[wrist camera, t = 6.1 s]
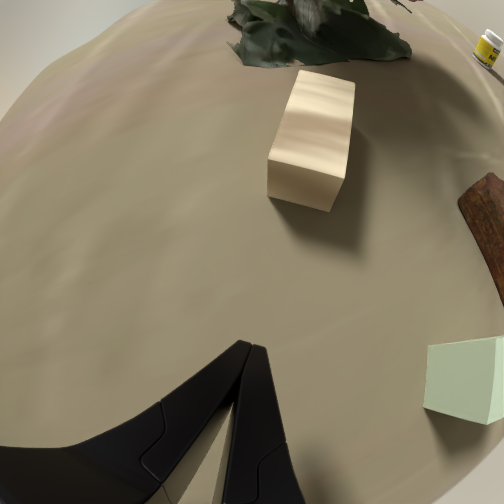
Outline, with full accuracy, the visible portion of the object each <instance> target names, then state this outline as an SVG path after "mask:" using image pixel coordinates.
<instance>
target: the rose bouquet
mask: <svg viewBox="0 0 504 504" xmlns="http://www.w3.org/2000/svg"><path fill="white" fill-rule="evenodd" d="M231 1H233V2H234V5H235V7H234V8H235V10H234V13H233V14H232V15H231V16H227V19H226V20H227V22H232V21H236V22H237V23H238V24H239V25H241V26H242V27H243V28H242V38H241V40H240V44H239V43H237V44H236V45H232V44H230V43H229V42H227V41H226V42H227V44H228V45H229V46H230V47H231V48H232V49H233V50H234V52H235V53H236V54H237V55H238V56H239V58H240V59H241V60H242V62H243V64H244V65H247V66H260V67H265V68H277V67H289V66H288V65H286V63H288V62H289V61H291V60H292V59H295V60H299V61H300V62H302V63H304V64H305V65H320V64H325V63H332V62H343V61H344V62H349V61H348V59H354V58H367V59H372V60H394V59H397V58H400V57H404V56H405V57H408V58H411V54H412V50H411V48H410V45H409V44H408V43H407V42H406V41H404V40H401V39H400V38H399V33H392V32H390V31H389V30H387V29H386V26H384V25H382V24H380V23H378V22H377V21H375V20H374V19H373V18H371V17H369V12H368V9H367V6H366V4H365V2H364V0H353V2H350V1H349V0H278V1H277V2H276V3H272V2H268V1H259V0H231ZM391 1H392V2H393V3H394V4H396V5H397V4H399V5H401V6H403V7H404V8H406V7H405V6H404V5H403V4H401V3H400V2H398V1H397V0H391ZM409 1H412V2H415V1H417V0H409ZM419 1H423V0H419ZM406 9H407V8H406ZM407 10H408V9H407ZM408 11H409V12H410V13H412V12H411V11H410V10H408ZM327 41H328V42H330V43H327ZM347 58H348V59H347ZM301 66H304V65H301Z"/></svg>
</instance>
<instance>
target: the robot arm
mask: <svg viewBox="0 0 504 504" xmlns="http://www.w3.org/2000/svg"><path fill="white" fill-rule="evenodd" d="M233 402H234V403H233ZM232 405H233V406H232ZM231 407H232V410H231V415H230V420H229V425H228V430H227V434H226V439H225V444H224V449H223V454H222V459H221V463H220V468H219V473H218V478H217V482H216V487H215V492H214V496H213V501H212V504H306V502H305V499H304V497H303V494H302V492H301V489H300V487H299V484H298V481H297V478H296V475H295V473H294V470H293V466H292V462H291V458H290V454H289V450H288V445H287V443H286V437H285V433H284V428H283V423H282V419H281V414H280V410H279V405H278V400H277V396H276V391H275V387H274V382H273V377H272V373H271V368H270V363H269V359H268V354H267V350H266V348H265V347H263V346H260V345H256V344H253V345H252V344H251V343H250V342H246V341H243V340H238V341H237V342H235V343H234V344H233V345H232V346H230V347H229V348H228V349H227V350H225V351H224V352H223V353H222V354H220V355H219V356H218V357H217V358H215V359H214V360H213V361H212V362H210V363H209V364H208V365H206V366H205V367H204V368H203V369H201V370H200V371H199V372H197V373H196V374H195V375H193V376H192V377H191V378H189V379H188V380H187V381H185V382H184V383H183V384H181V385H180V386H179V387H177V388H176V389H175V390H173V391H172V392H171V393H169V394H168V395H166V396H165V397H164V398H162V399H161V400H160V401H158V402H156V403H155V404H154V405H152V406H151V407H149V408H148V409H146V410H145V411H143V412H142V413H140V414H139V415H137V416H135V417H134V418H132V419H130V420H128V421H126V422H124V423H123V424H121V425H119V426H117V427H115V428H112V429H110V430H108V431H106V432H104V433H102V434H100V435H97V436H95V437H93V438H91V439H88V440H86V441H84V442H81V443H79V444H76V445H72V446H68V447H61V448H23V447H7V446H0V504H177V503H178V502H179V500H180V498H181V497H182V495H183V494H184V492H185V490H186V489H187V487H188V485H189V483H190V482H191V480H192V478H193V477H194V475H195V473H196V472H197V470H198V468H199V466H200V465H201V463H202V461H203V459H204V458H205V456H206V454H207V452H208V450H209V449H210V447H211V445H212V443H213V441H214V440H215V438H216V436H217V434H218V432H219V430H220V429H221V427H222V425H223V423H224V421H225V419H226V417H227V415H228V414H229V411H230V409H231Z"/></svg>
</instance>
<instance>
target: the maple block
mask: <svg viewBox="0 0 504 504" xmlns="http://www.w3.org/2000/svg"><path fill="white" fill-rule="evenodd" d="M354 93H355V83H353V82H349V81H346V80H342V79H338V78H334V77H330V76H326V75H322V74H318V73H313V72H309V71H304V70H300V71H299V74H298V76H297V79H296V82H295V84H294V87H293V90H292V93H291V95H290V98H289V101H288V104H287V106H286V109H285V112H284V115H283V118H282V120H281V123H280V126H279V129H278V131H277V134H276V137H275V140H274V143H273V146H272V148H271V151H270V154H269V157H268V180H267V196H269V197H273V198H277V199H281V200H285V201H289V202H293V203H297V204H300V205H304V206H308V207H312V208H315V209H319V210H322V211H326V212H330V210H331V208H332V205H333V203H334V201H335V199H336V197H337V194H338V192H339V190H340V188H341V185H342V183H343V181H344V178H345V172H346V165H347V158H348V150H349V142H350V134H351V125H352V115H353V105H354Z"/></svg>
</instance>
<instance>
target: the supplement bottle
mask: <svg viewBox="0 0 504 504" xmlns="http://www.w3.org/2000/svg"><path fill="white" fill-rule="evenodd" d="M485 34H486V35H482V36H481V38H480V40H479V42H478V45H477V47H476V49H475V50H474V52H473V58H474V59H475V60H476V61H477V62H478V63H480V64H481V65H482V66H483V67H485V68H487V69H491V67H492V66H493V64H494V62H495V60H496V59H497V57H498V55H499V53H500V51H501V48H500V46H501V45H502V44H503V41H502V39H501V38H500V37H498V36H497V35H496V34H495V33H493V32H492V31H490V30H489V29H487V30H486V32H485Z"/></svg>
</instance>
